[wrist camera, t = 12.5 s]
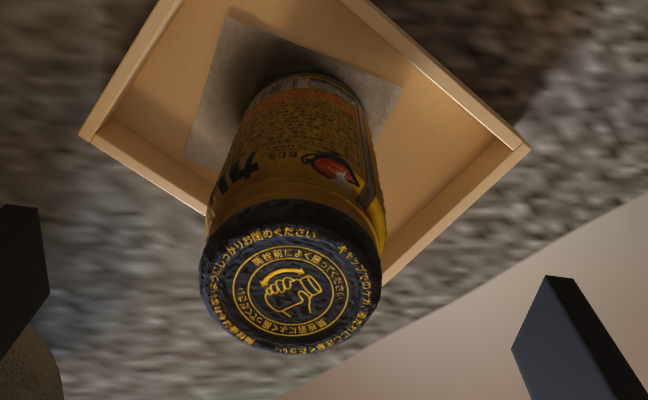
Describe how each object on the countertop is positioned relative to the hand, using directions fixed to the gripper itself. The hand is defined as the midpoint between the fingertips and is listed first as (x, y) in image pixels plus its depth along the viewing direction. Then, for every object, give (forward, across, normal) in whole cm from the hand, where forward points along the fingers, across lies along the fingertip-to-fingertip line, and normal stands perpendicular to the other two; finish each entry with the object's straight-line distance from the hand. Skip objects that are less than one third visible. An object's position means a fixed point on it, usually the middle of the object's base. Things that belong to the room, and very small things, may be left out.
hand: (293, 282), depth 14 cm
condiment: (+12, -1, 0) cm, 13 cm away
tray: (+13, 0, 0) cm, 13 cm away
